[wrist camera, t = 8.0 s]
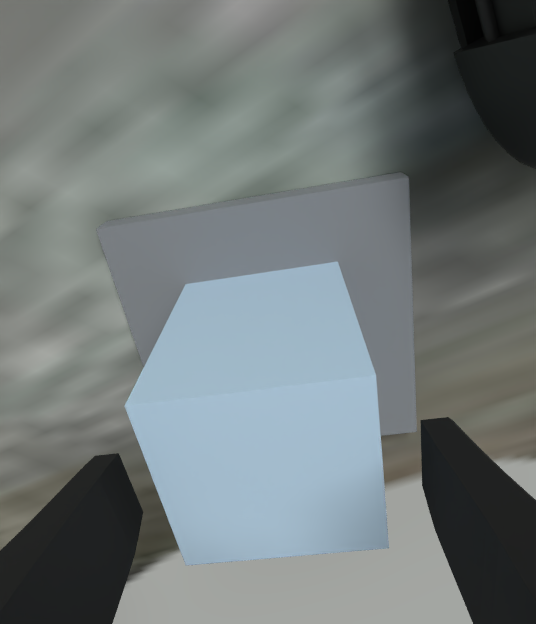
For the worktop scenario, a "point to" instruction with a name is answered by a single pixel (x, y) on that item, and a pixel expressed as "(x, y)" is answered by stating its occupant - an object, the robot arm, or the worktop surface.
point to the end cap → (500, 69)
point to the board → (284, 265)
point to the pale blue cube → (264, 419)
